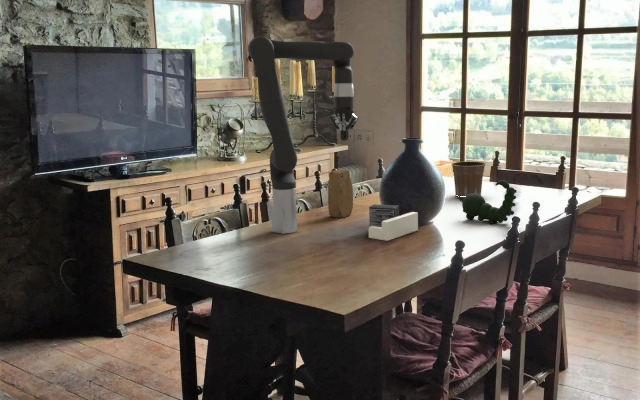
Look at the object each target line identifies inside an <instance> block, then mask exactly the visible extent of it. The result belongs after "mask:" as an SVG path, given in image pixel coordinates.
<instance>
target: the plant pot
mask: <svg viewBox="0 0 640 400" xmlns="http://www.w3.org/2000/svg"><path fill="white" fill-rule="evenodd" d="M450 165H451V167H452V172H453V178H454V179H453V180H454V182H453V183H454V191H455V193H454V194H455V196H456V195H458V196H467V195H469V194H473V193H476V194H479V195H481V196H482V188H483V179H484V172H485V166H486V163H485V162H481V161H468V160H467V161H455V162H451V164H450Z"/></svg>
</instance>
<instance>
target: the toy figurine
mask: <svg viewBox="0 0 640 400" xmlns="http://www.w3.org/2000/svg"><path fill="white" fill-rule="evenodd" d="M495 186H502V188H503V189H506V190H505V194H504V196H503V197H504V198H503V200H502V203H501V205H500V207H496V206H493V205H491V204H490V203H488V202H486V199H485V198H484V197H483V196H482V194H481V195H479V194H476V193H473V194H469V195H467V196H466V197H460V196H459V197H457V199H458V201H460V202H461V205H462V206H461V207H462V212H463V213H465V214H466V215H465V217H466V220H468V219H472V220H474V219H475V217H477V221H478V222H480V223H482V222H483V221H484V220H485V221H486V220H487V223H488V224H489V223H492V224H493V223H497V221H498V223H499V224H502V223H503V222H507V221H508V217H510V216H514V214H515V211H514V210H513V209H512V208H513V207H515V206H517V205H516V202H514V201H515V200H516V199H517V196H516V195H515V194H516V193H517V190H516V189H515V188H514V187H512V186H510V183H509V182H508V181H506V180H498V181H497V182H495ZM507 216H508V217H507Z"/></svg>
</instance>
